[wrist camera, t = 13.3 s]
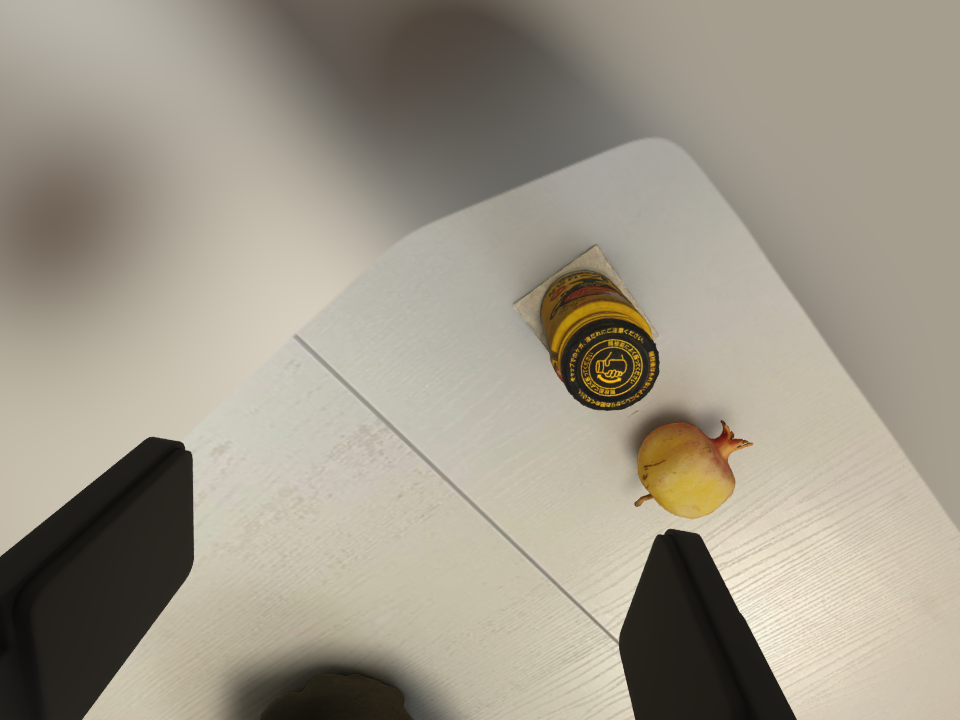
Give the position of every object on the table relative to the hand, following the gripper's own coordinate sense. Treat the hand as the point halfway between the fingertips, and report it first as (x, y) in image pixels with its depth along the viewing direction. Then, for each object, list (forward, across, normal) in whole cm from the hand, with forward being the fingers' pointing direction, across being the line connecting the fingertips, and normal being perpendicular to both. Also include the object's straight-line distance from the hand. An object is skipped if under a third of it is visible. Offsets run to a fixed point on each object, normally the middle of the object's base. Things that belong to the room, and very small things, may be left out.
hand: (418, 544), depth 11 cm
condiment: (+31, -9, +3) cm, 32 cm away
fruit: (+31, -18, +12) cm, 37 cm away
